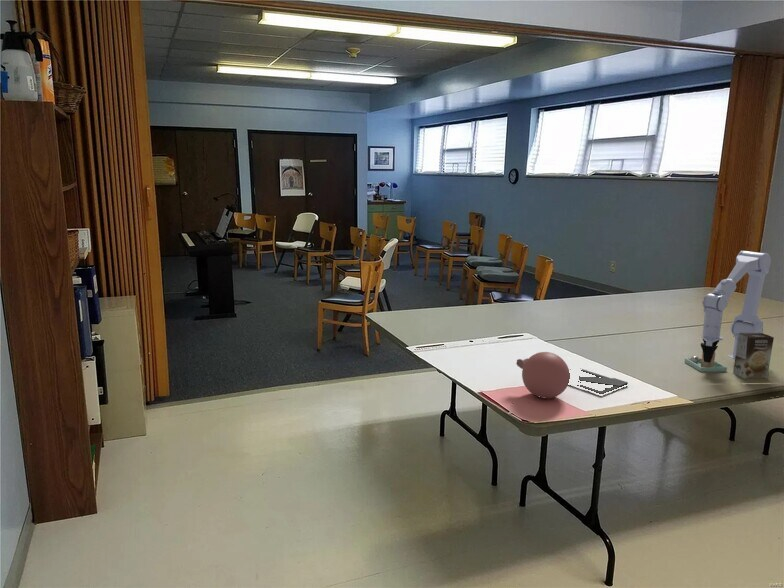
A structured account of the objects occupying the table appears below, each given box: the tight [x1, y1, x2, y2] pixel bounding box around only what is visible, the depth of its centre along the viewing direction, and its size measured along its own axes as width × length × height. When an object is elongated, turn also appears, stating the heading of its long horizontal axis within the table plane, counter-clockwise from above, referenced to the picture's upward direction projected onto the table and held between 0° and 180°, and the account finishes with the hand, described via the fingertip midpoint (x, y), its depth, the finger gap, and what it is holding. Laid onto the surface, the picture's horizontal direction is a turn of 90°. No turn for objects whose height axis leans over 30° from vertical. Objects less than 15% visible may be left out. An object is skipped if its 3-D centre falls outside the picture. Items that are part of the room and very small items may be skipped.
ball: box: [689, 355, 700, 364], centre depth 215 cm, size 3×3×3 cm
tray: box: [684, 357, 728, 373], centre depth 212 cm, size 10×11×2 cm
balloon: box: [515, 351, 570, 399], centre depth 185 cm, size 15×20×15 cm
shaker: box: [701, 350, 716, 367], centre depth 211 cm, size 4×4×7 cm
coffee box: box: [732, 332, 775, 379], centre depth 201 cm, size 9×6×16 cm
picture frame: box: [577, 368, 629, 394], centre depth 197 cm, size 16×2×21 cm
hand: (708, 359), depth 211 cm, fingers open, 7 cm apart
